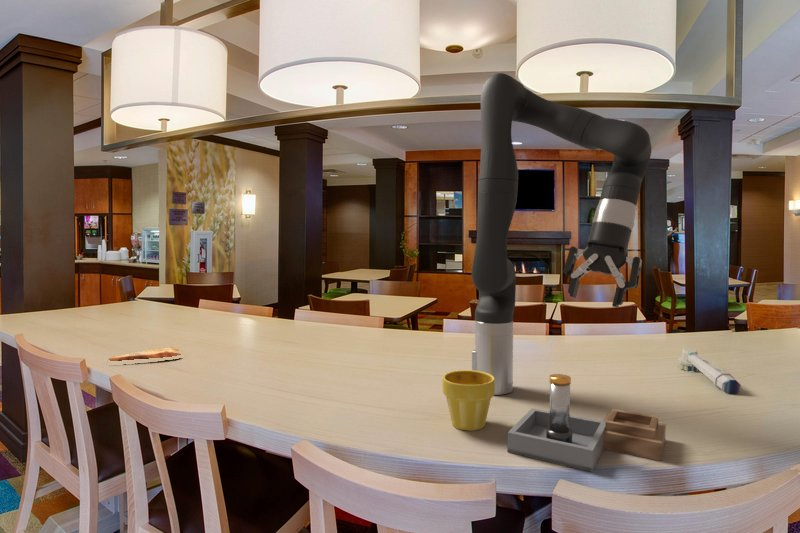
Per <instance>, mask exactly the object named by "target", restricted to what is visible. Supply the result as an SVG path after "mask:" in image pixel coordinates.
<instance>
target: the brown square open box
mask: <svg viewBox="0 0 800 533" xmlns="http://www.w3.org/2000/svg"><path fill="white" fill-rule="evenodd" d="M659 420H660V419H659V416H658V415H652V414H646V413H640V412H633V411H628V410H623V409H617V408H612V409H611V411H610V413H606V415H605V417H604V419H603V420H602V421H604V422H606V426H605V431H604V449H603V450H608V451H613V452H617V453H622V454H627V455H631V456H634V457H635V456H636V457H641V458H645V459H650V460H655V461H658V462H659V461H660V462H662V459H663V456H664V454H663V453H664V449H665V444H666V426H667V425H666V424H667V423H663V422H659Z"/></svg>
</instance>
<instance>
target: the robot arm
mask: <svg viewBox="0 0 800 533" xmlns="http://www.w3.org/2000/svg"><path fill="white" fill-rule="evenodd" d="M480 120H481V125H480V126H481V143H480V144H481V145H480V163H479V164H480V165H479V166H480V167H479V176H478V187H477V188H478V190H477V192H478V193H477V216H476V217H477V220H476V221H477V223H476V226H477V230H476V232H477V233H476V242H475V249H474V255H473V260H472V265H471V266H472V267H471V280H472V283H473V285H474V287H475V288H476V290H477V291H478V301H477V305H476V308H475V310H474V350H472V352H471V370H474V371H481V372H485V373H488V374H490V375H492V376H493V377H494V378H495V392H494V396H497V395H499V396H501V395H507V394H510V393H513V391H514V390H513V388H514V379H513V378H514V312H515V308H516V293H517V292H516V289H517V287H516V286H517V285H516V284H517V276H516V275H517V274H516V270H515V266H514V264H513V263H512V261H511V260H510V259H509V258H508V236H509V231H510V227H511V224H512V220H513V217H514V214H515V210H516V206H517V200H518V199H517V198H518V188H519V168H518V164H517V159H516V153H515V150H514V146H513V145H514V144H513V140H512V126H513V125H512V124H513V122H517V123H523V124H528V125H530V126H533V127H537V128H540V129H542V130H544V131H545V132H546V131H547V132H548V133H551V134H553V135H554V136H556V137H558V138H561V139H563V140H565V141H568V142H569V143H572V144H575V145H577V146H580V147H582V148H584V149H586V150H587V149H588V150H597V149H600V150H603V151H605V152H608V153H610V154H612V155H613V162H612V165H611V169H610V171H609V174H608V175H607V176H606V178H604V182H603V185H602V188H601V192H600V198H599V202H598V205H597V207H596V209H595V213H594V216H593V220H592V225H591V228H590V233H589V236H588V240H587V244H586V247H585V249H583V248H582V249H581V248H577V247H576V246H573V245H572V246H571V247H570V248H569V251H568V254H567V258H566V260H565V264H564V266H563V270H562V272H563V274H565V275H567V276H568V277H569V278H570V280H569V285H568V288H567V293H568V294H569V297H571V298H574V299H575V298H577V294H578V291H579V287H580V283H581V278H583V277H584V276H585V275H587V274H589V273H590V272H593V273H596V274H599V273H600V274H601V273H602V274H605V275H606V276H607V275H608V276H611V275H612V276H613V278H614V280H615V281H616V283H617V287H616V288H615V292H614V296H613V301H612V307H613V308H618V309H619V306H622V305H623V304H624V299H625V295H626V292H627V291H628V290H629V289H637V288H638V286H639V282H640V277H641V272H642V265H643V259H641V258H640V257H639V256H635V257H632V256H631V257H629V256H628V255H627V251H628V247H629V243H630V238H631V235H632V232H633V228H634V224H635V219H636V209H637V205H638V201H639V196H640V192H641V187H642V182H643V179H644V177H645V175H646V172H647V170H648V167H649V164H650V161H651V156H652V155H651V154H652V143H651V136H650V134H649V132H648V131H647V130H646V129H645V128H644V127H642V126H641V125H640V124H637V123H635V122H631V121H627V120H624V119H623V120H622V119H617V118H608V117H607V118H606V117H604V116H601V115H599V114H596V113H593V112H590V111H589V110H585V109H582V108H579V107H576V106H571V105H568V104H561V103H557V102H554V101H551V100H548V99H546V98H544V97H542V96H539V95H538V94H536V93H534V92H533V91H531V90H529V89H528V88H526V87H525V86H524V85H523V83H521V82H520V81H518V80H517V79H516V78H514V77H513V76H511V75H509V74H507V73H504V72H499V73H495V74H493V75H490V76H489V77H488V78H487V80H485V82H484V84H483V87H482V88H481V93H480ZM581 256H583V258H584V261H583V263H581V264H580V265H579V266H578V268H576V269H575V266H576V264H577V260H578V259H580V258H581ZM626 263H628V267H629V268H631V269H630V274H629V275H630V276H629V280H628V281H626V280H625V278H624V275H623V273H622V271H621V269H620V268H623V266H624V265H626ZM574 269H575V270H574Z"/></svg>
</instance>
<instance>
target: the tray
mask: <svg viewBox="0 0 800 533" xmlns="http://www.w3.org/2000/svg"><path fill="white" fill-rule="evenodd" d="M549 419H550V410H542V409H538V408H537V409H536V408H533V407H532V408H530V409H529V410H528V412H527V413H526V414H525V415H524V416H522V417H521V419H520V420H519V421H517V422H516V423H515V425H513V427H512V428H510V430H509V431H508V432H507V452H508V453H510V454H515V455H518V456H522V457H527V458H532V459H536V460H540V461H544V462H548V463H553V464H556V465H557V464H558V465H561V466H565V467H570V468H574V469H576V470H577V469H578V470H581V471H586V472H590V473H591V472H592V473H593V472H594V471H595V468H596V466H597V463H598V462H599V459H600V457H601V455H602V453H603V451H604V450H605V449H604V431H605V426H606V422H604V421H603V420H598V419H592V418H588V417H583V416H577V415H570V422H569V428H570V429H571V430H572V444H571V443H566V442H562V441H557V440H552V439H548V438H546V428H547V427H548V426H549Z"/></svg>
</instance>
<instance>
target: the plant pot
mask: <svg viewBox="0 0 800 533" xmlns="http://www.w3.org/2000/svg"><path fill="white" fill-rule="evenodd" d="M441 380H442V382H441V383H442V394H443V395H444V396H445V397H446V402H447V407H448V412H449V416H450V422H451V425H452V426H453V427H454V428H456V429H458V430H462V431H467V430H468V431H478V430H481V429H483V428H484V427H485V425H486V422H487V418H488V412H489V409H490V404H491V401H492V400H491V399H492V398H493V397H494V396H495V395H494V392H495V378H494V377H493V376H492V375H490V374H488V373H485V372H481V371H474V370H472V369H471V370H470V369H462V370H461V369H459V370H452V371H449V372H446V373H445V374H443V376H442V379H441Z"/></svg>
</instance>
